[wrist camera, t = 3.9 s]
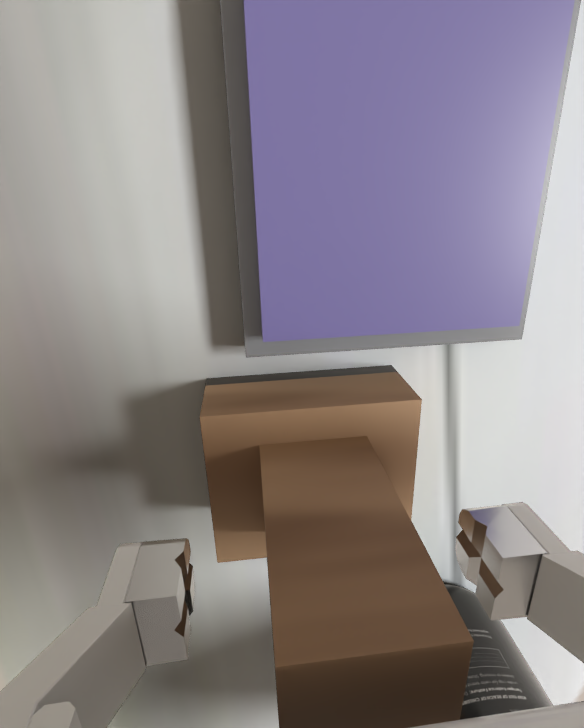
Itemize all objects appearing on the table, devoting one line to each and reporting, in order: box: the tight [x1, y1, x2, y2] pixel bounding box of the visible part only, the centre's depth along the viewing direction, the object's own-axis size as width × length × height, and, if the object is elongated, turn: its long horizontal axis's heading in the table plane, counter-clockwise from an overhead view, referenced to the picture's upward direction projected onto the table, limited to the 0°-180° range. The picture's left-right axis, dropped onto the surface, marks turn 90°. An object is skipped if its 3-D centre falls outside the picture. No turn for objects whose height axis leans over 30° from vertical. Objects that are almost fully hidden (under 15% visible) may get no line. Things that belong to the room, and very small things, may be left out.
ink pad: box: [220, 0, 581, 357], centre depth 11 cm, size 9×8×2 cm
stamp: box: [200, 365, 474, 728], centre depth 11 cm, size 5×6×9 cm
